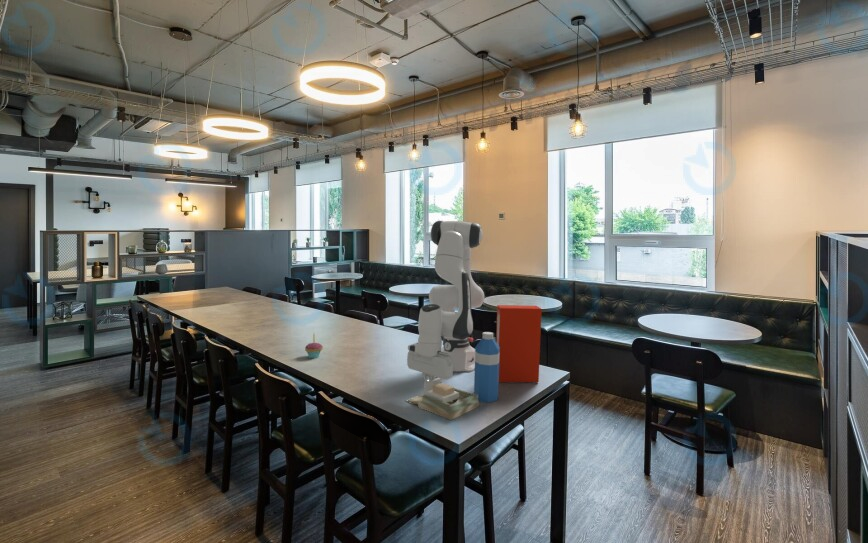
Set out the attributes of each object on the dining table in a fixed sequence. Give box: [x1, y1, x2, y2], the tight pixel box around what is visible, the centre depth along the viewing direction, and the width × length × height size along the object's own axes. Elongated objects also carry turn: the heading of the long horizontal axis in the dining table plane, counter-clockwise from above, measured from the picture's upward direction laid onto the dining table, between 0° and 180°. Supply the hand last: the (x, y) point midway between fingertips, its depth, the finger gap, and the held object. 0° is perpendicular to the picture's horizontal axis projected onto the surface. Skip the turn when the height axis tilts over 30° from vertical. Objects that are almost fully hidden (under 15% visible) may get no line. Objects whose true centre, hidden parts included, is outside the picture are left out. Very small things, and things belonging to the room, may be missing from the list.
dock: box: [407, 387, 480, 421], centre depth 151 cm, size 16×23×5 cm
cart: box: [423, 377, 459, 403], centre depth 149 cm, size 8×10×6 cm
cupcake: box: [304, 333, 324, 359], centre depth 207 cm, size 9×8×12 cm
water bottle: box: [473, 331, 500, 403], centre depth 157 cm, size 9×9×25 cm
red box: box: [495, 304, 543, 382], centre depth 177 cm, size 8×17×32 cm, turn 91°
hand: (429, 385), depth 154 cm, fingers closed
